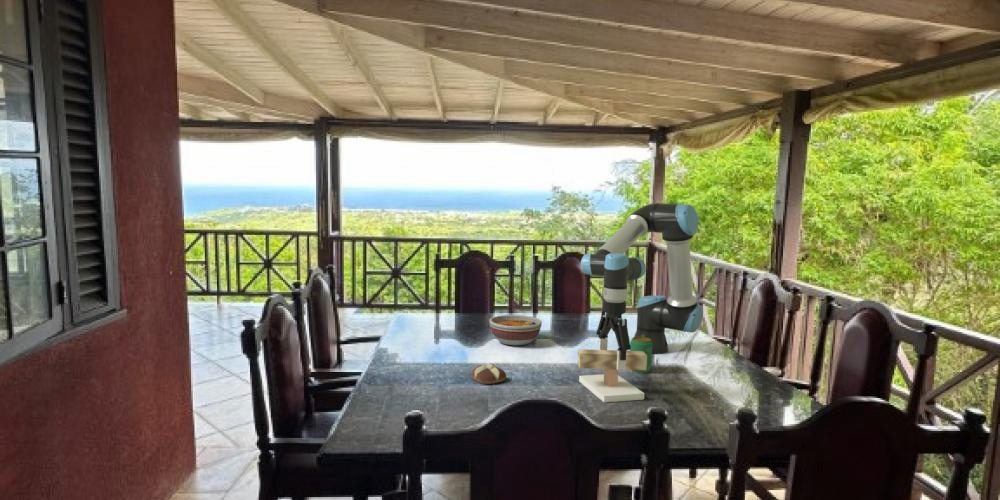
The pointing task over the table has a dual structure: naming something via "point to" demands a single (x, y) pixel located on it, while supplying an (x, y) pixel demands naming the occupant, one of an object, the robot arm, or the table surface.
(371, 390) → the table surface
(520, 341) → the bowl
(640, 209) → the robot arm
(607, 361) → the oak bar
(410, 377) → the table surface
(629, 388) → the fulcrum
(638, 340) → the beverage can
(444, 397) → the table surface
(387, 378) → the table surface
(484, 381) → the bread
